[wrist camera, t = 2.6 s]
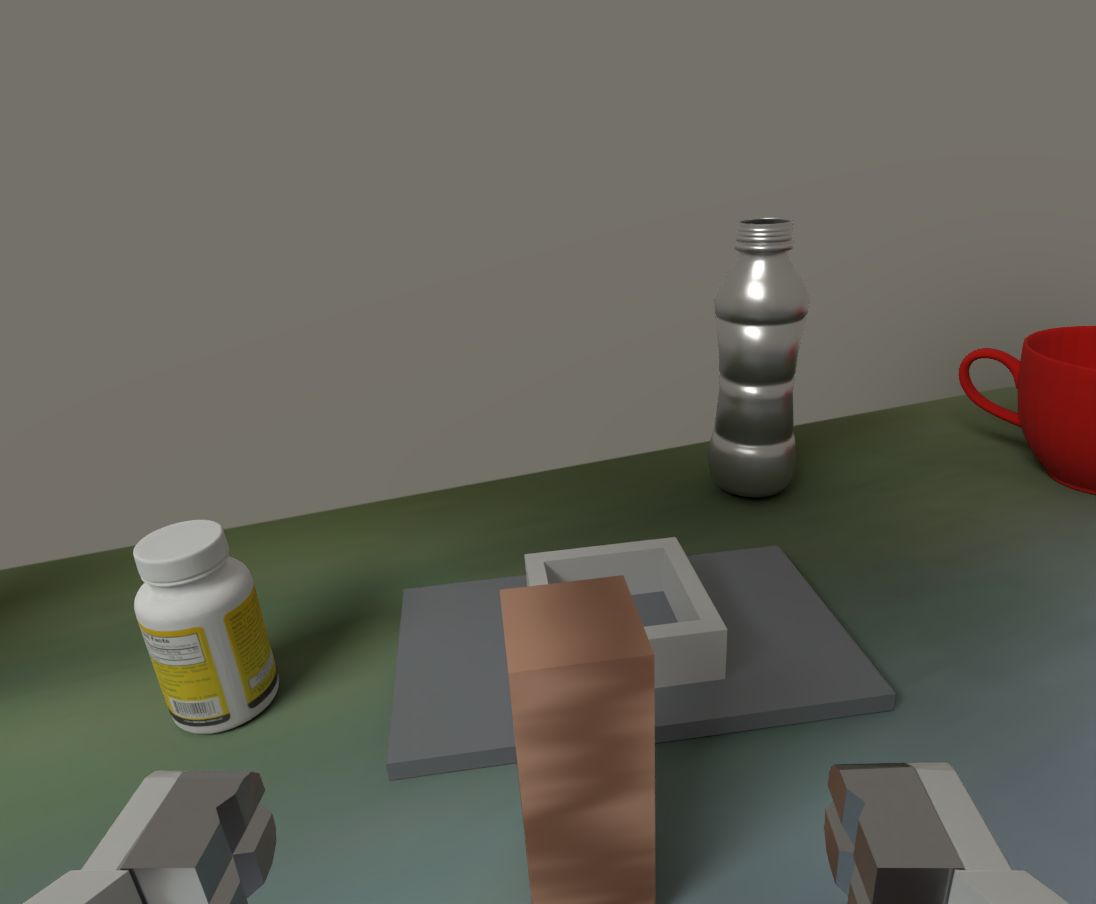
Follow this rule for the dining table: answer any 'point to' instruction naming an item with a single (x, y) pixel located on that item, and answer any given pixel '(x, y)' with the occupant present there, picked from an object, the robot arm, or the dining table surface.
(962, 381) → the ceramic cup
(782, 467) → the plastic bottle
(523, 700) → the terracotta peg
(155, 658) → the supplement bottle
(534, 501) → the dining table surface
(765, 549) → the collar board
